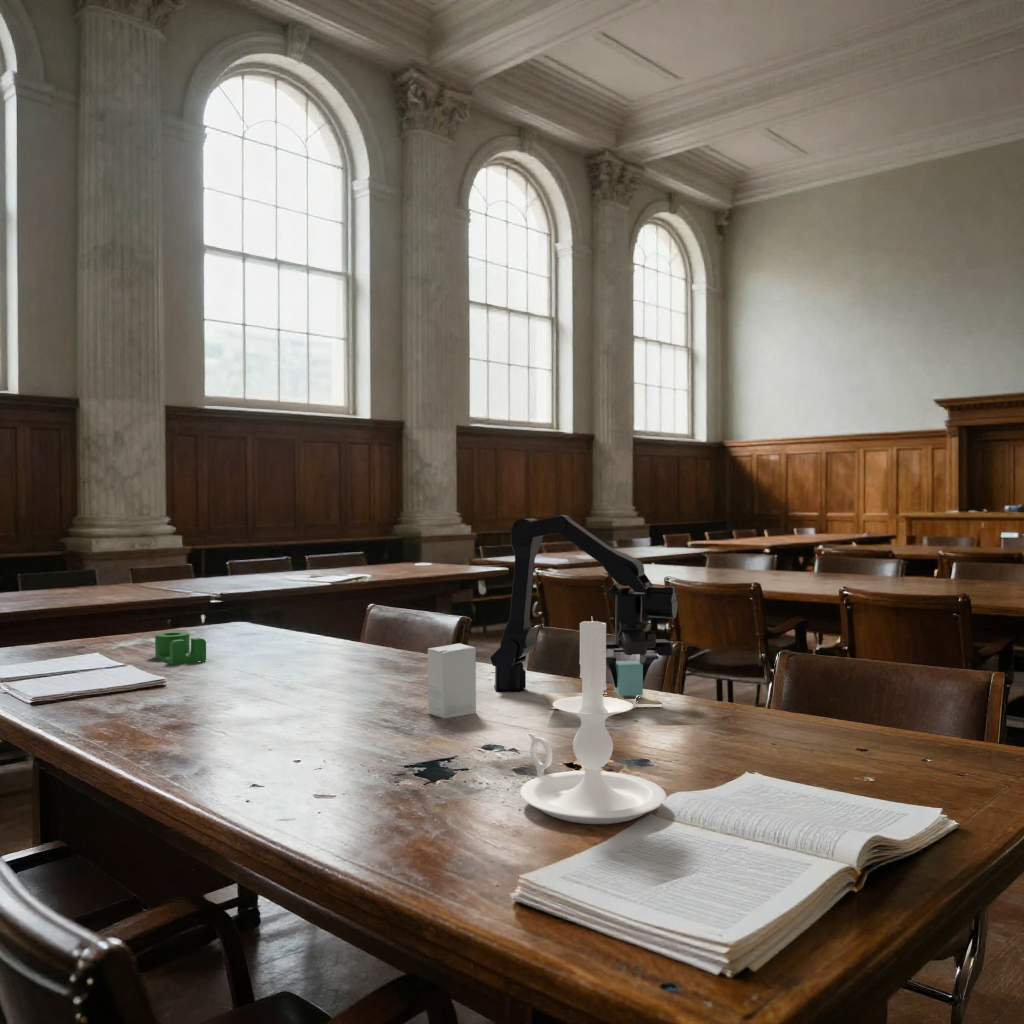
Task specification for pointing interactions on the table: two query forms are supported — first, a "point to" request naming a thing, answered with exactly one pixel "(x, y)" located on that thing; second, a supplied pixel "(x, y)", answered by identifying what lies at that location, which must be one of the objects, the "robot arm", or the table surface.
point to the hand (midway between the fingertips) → (628, 687)
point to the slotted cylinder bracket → (179, 648)
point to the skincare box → (452, 680)
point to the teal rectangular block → (629, 678)
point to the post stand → (643, 699)
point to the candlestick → (590, 753)
